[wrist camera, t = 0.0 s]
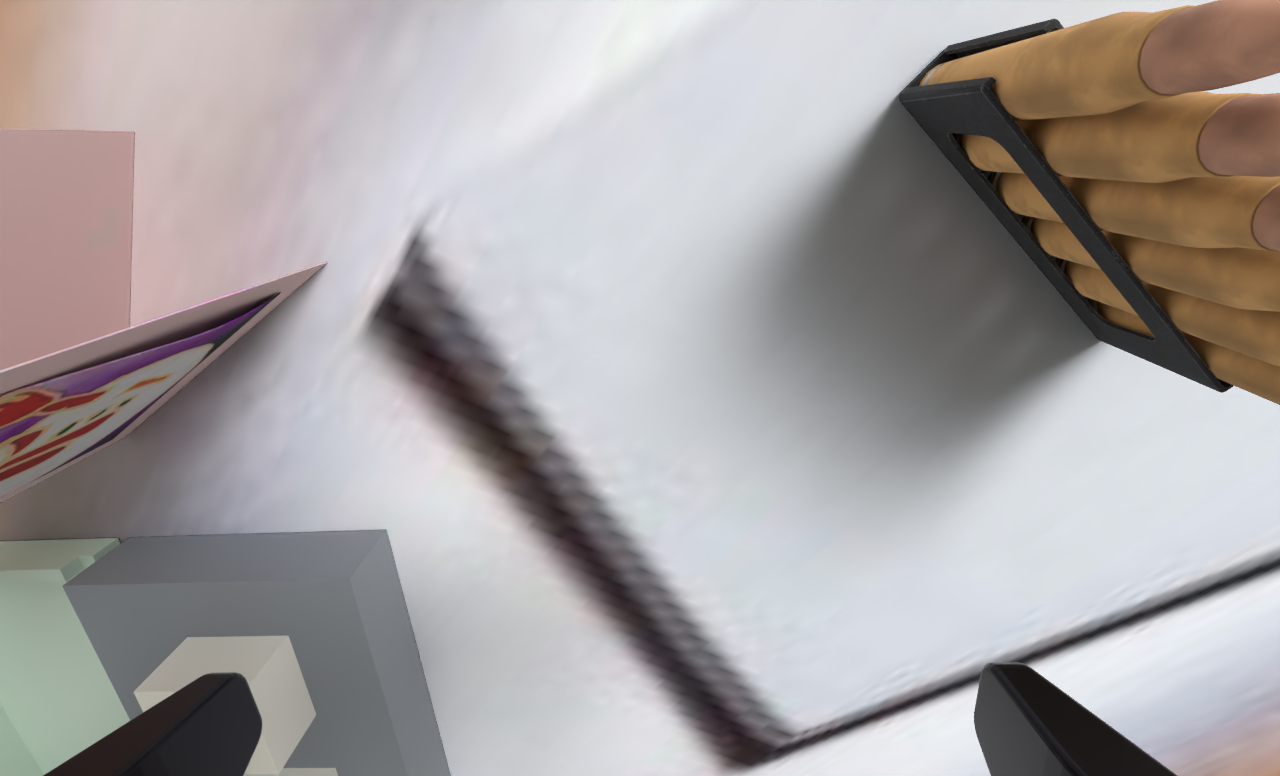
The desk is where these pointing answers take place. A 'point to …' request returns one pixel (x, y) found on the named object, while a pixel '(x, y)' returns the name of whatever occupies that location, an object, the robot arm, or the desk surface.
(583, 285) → the desk surface
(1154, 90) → the ammunition clip
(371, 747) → the gray rectangular block
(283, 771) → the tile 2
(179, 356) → the greeting card
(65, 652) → the box
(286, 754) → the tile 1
